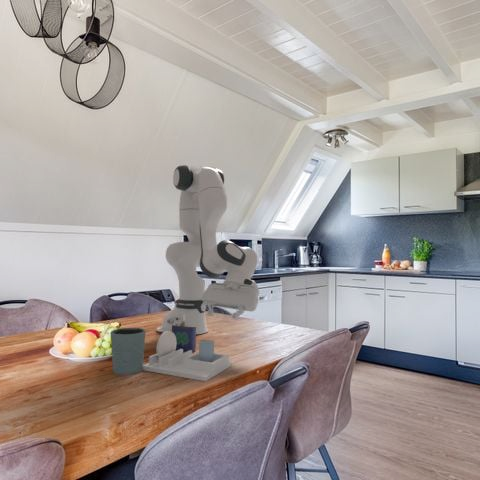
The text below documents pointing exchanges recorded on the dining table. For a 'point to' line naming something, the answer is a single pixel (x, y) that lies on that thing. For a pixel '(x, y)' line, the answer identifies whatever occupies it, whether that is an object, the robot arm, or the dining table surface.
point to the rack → (183, 361)
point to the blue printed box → (185, 336)
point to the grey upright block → (206, 350)
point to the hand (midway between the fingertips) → (221, 316)
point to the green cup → (127, 350)
